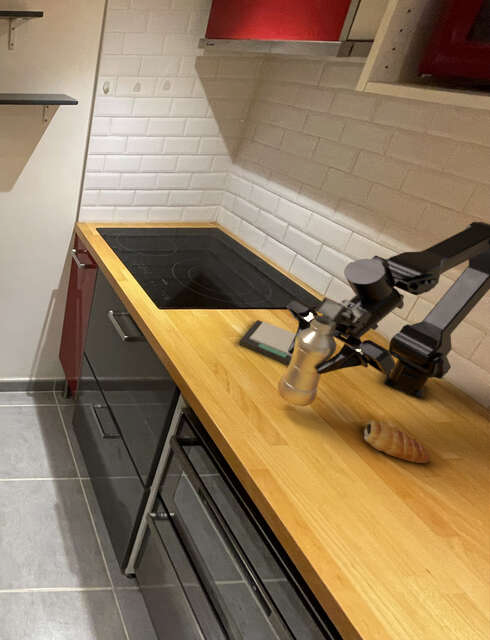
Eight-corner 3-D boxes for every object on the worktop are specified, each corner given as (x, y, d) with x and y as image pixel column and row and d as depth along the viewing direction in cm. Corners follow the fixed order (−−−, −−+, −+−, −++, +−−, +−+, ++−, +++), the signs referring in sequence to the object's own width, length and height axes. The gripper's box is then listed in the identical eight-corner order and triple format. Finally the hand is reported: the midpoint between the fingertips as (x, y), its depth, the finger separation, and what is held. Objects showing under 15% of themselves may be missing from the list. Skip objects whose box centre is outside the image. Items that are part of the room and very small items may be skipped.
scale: (256, 323, 125) (258, 317, 124) (316, 347, 116) (319, 341, 115) (238, 344, 116) (240, 338, 115) (302, 371, 107) (305, 365, 106)
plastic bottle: (319, 406, 92) (355, 327, 84) (294, 413, 91) (329, 333, 82) (290, 385, 98) (321, 309, 90) (266, 391, 96) (296, 314, 88)
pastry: (423, 449, 87) (432, 435, 85) (428, 473, 82) (438, 459, 81) (361, 425, 92) (369, 411, 91) (363, 446, 87) (370, 432, 86)
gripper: (308, 265, 92) (249, 316, 94) (410, 315, 76) (337, 376, 78) (324, 293, 97) (268, 341, 99) (424, 345, 81) (354, 402, 83)
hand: (302, 362), depth 90 cm, fingers closed on plastic bottle, 6 cm apart
